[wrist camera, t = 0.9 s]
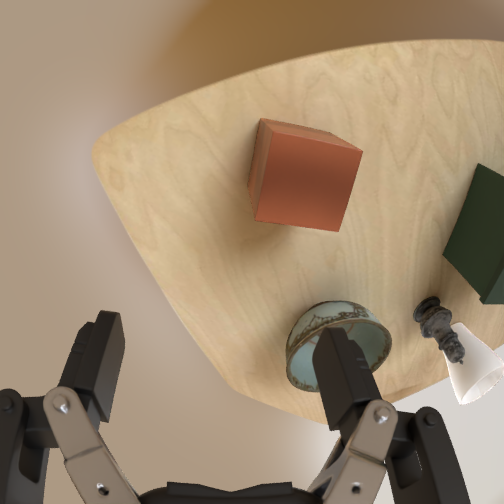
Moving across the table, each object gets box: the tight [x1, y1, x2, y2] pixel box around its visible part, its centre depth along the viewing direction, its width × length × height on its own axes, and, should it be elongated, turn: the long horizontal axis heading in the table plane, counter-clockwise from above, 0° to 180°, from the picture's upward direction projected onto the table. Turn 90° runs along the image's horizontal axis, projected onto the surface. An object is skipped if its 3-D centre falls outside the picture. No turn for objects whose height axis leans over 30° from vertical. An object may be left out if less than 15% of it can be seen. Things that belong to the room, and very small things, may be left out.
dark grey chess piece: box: [413, 297, 465, 365], centre depth 37 cm, size 6×6×12 cm
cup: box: [442, 322, 504, 405], centre depth 42 cm, size 10×10×14 cm
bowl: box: [286, 301, 392, 392], centre depth 37 cm, size 14×13×8 cm
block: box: [248, 118, 363, 232], centre depth 26 cm, size 7×7×8 cm
